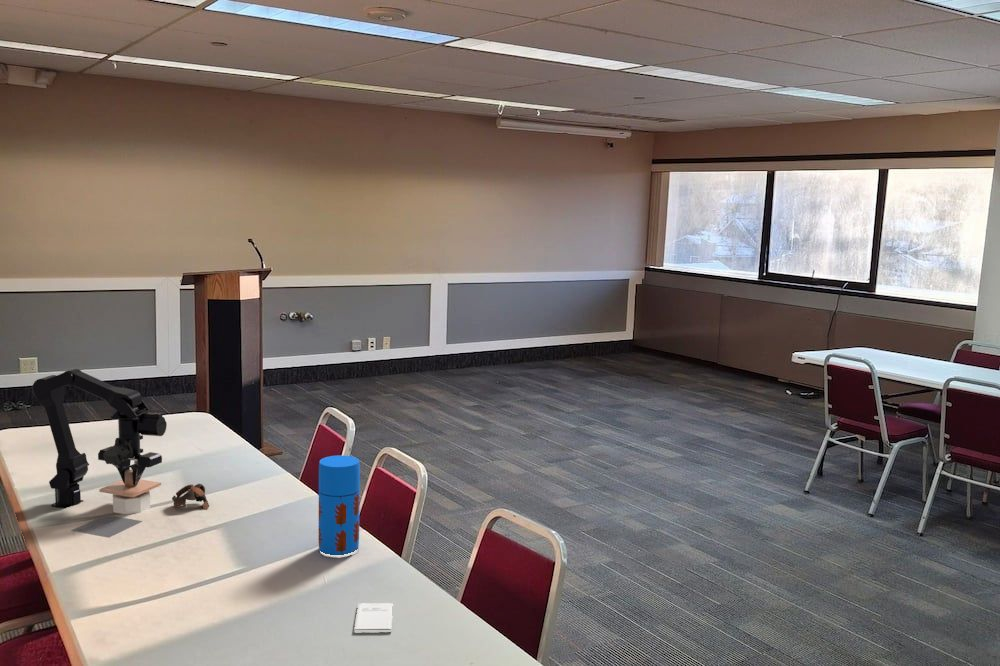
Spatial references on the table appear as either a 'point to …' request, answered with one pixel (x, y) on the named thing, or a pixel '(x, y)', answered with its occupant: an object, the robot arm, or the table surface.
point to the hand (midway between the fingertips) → (130, 484)
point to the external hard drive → (374, 616)
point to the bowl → (131, 503)
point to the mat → (107, 526)
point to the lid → (130, 486)
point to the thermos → (339, 504)
